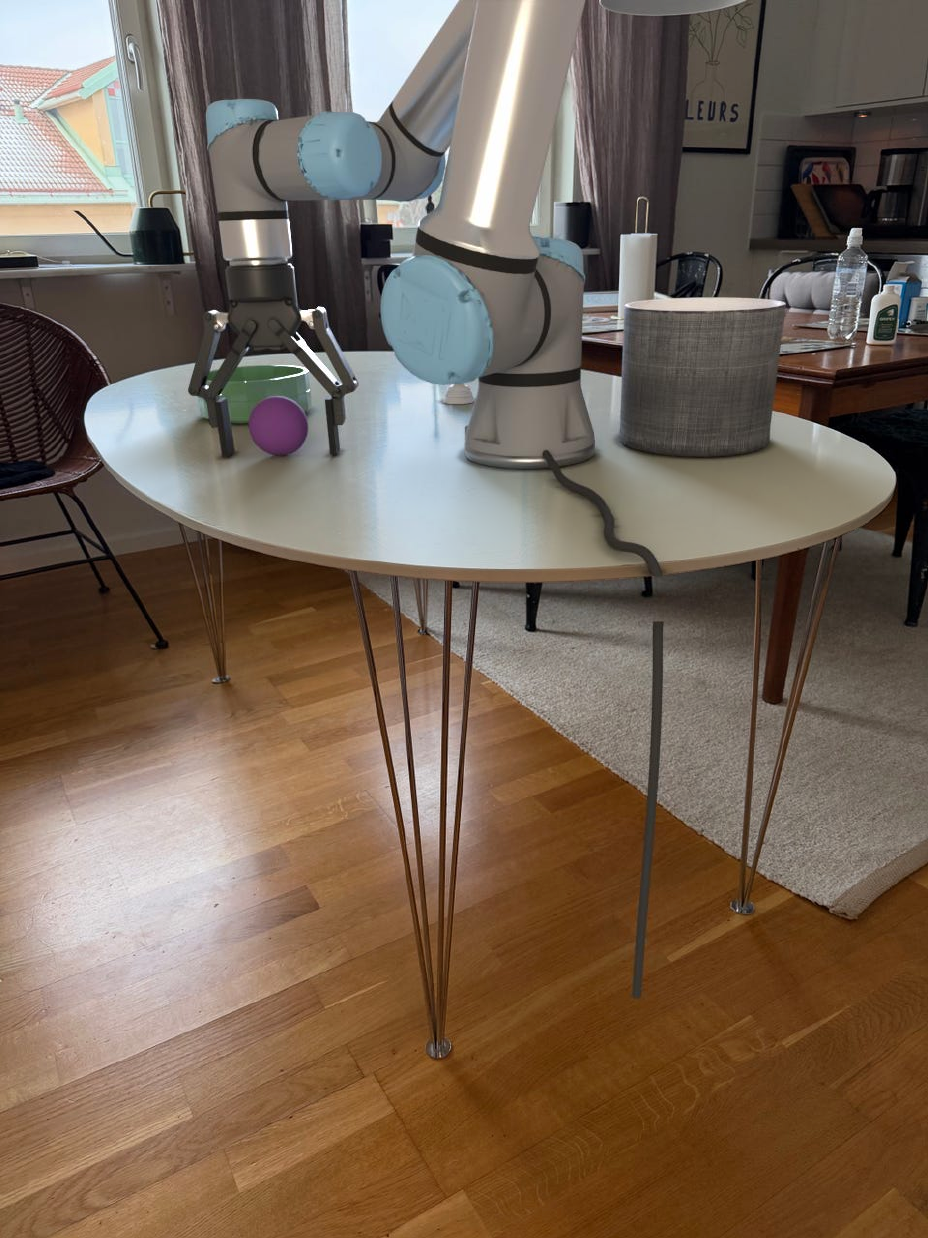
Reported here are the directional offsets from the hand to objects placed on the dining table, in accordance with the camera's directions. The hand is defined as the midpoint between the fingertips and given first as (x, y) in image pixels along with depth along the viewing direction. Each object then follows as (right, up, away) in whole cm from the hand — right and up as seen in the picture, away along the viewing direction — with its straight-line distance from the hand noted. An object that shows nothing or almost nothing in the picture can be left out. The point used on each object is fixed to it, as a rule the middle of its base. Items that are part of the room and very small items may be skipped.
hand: (281, 453), depth 104 cm
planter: (+50, +1, 0) cm, 50 cm away
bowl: (-9, +11, +24) cm, 28 cm away
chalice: (+21, +14, +29) cm, 39 cm away
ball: (0, +3, -1) cm, 3 cm away
